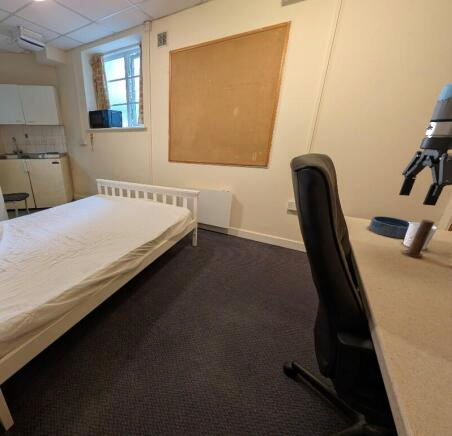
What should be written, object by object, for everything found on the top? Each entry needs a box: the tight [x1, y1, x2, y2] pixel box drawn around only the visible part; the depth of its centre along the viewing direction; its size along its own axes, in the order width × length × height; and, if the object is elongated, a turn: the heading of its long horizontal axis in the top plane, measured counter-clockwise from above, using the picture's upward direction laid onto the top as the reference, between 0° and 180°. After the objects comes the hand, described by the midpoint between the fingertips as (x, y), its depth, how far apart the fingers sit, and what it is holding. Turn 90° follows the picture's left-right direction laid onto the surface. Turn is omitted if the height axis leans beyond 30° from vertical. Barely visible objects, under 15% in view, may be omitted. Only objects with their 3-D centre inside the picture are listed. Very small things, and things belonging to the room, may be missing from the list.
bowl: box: [368, 215, 412, 239], centre depth 110 cm, size 15×16×6 cm
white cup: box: [403, 221, 438, 251], centre depth 96 cm, size 8×8×10 cm
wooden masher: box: [403, 219, 436, 259], centre depth 87 cm, size 5×5×15 cm
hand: (415, 199), depth 79 cm, fingers open, 13 cm apart
